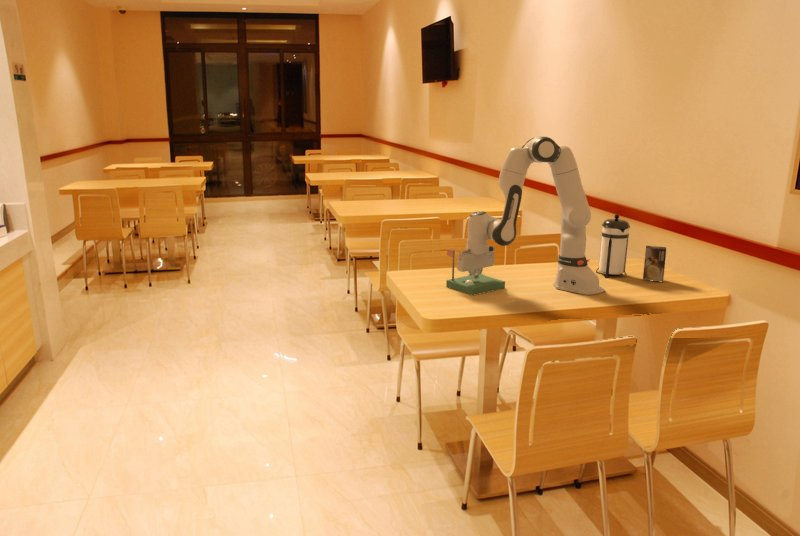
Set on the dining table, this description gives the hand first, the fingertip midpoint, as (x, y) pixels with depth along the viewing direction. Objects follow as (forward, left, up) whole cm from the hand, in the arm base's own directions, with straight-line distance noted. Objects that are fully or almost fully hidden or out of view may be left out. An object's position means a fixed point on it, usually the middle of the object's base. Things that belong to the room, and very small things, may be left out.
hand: (475, 278), depth 277 cm
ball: (0, +4, -2) cm, 4 cm away
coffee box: (-41, -78, -4) cm, 88 cm away
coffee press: (-22, -71, -4) cm, 75 cm away
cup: (+16, -16, -4) cm, 24 cm away
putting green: (+1, 0, -4) cm, 4 cm away
